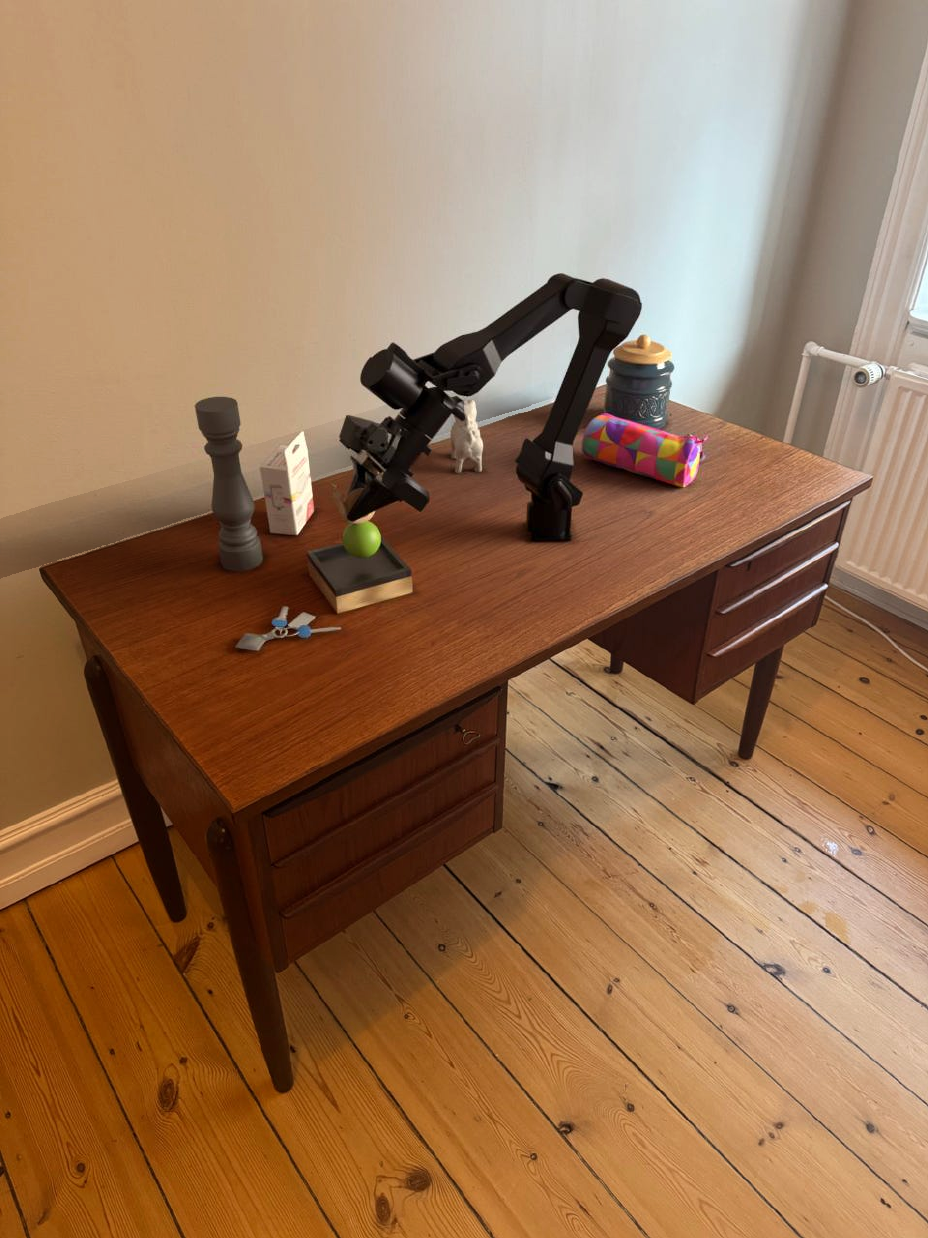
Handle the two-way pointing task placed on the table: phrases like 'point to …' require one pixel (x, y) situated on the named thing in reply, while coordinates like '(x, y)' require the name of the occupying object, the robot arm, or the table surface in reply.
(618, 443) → the pencil case
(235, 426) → the candle holder
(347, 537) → the green two-tone figurine
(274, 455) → the ink cartridge box
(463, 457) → the white animal figure
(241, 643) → the key chain
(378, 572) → the square tray
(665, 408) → the canister
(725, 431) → the table surface
